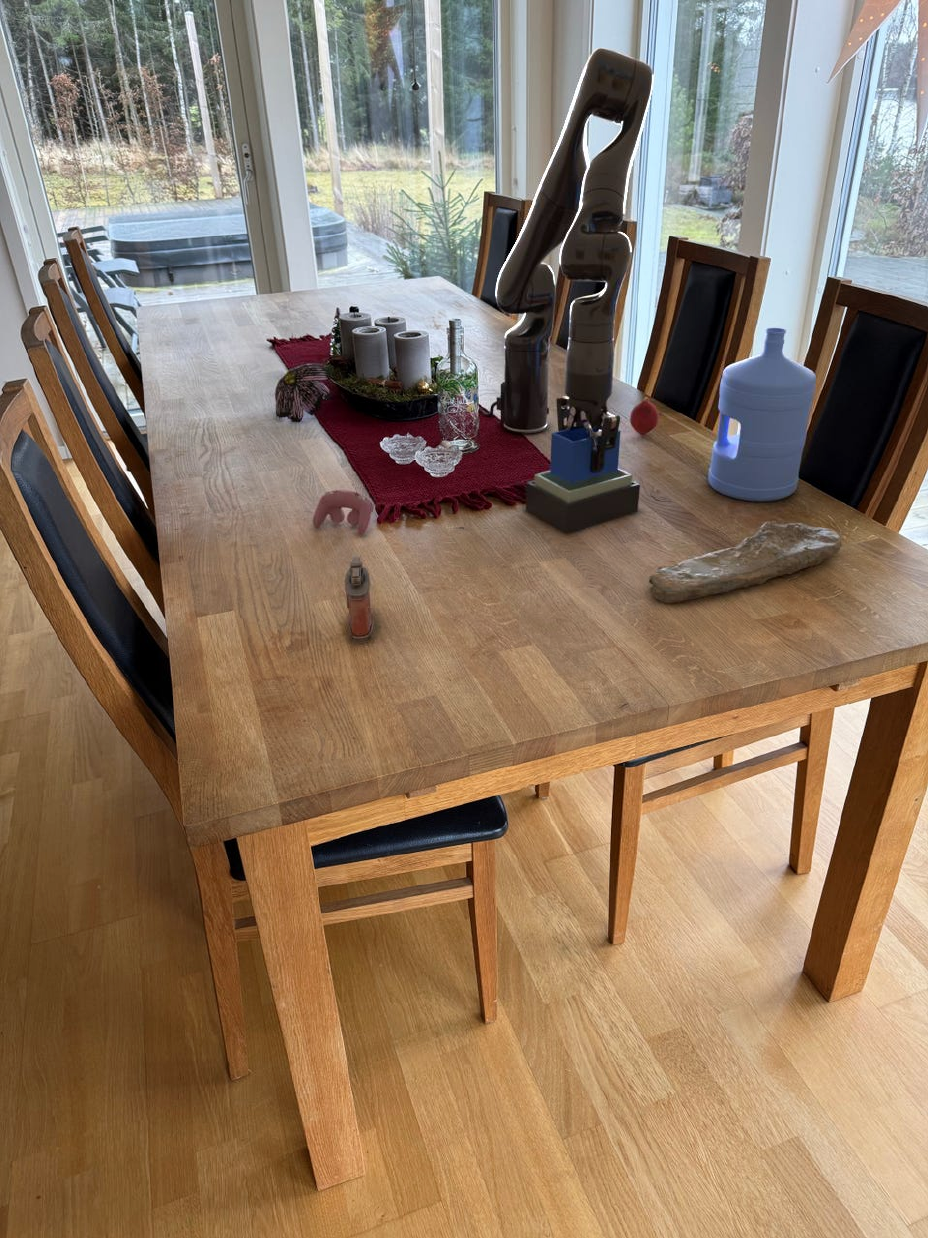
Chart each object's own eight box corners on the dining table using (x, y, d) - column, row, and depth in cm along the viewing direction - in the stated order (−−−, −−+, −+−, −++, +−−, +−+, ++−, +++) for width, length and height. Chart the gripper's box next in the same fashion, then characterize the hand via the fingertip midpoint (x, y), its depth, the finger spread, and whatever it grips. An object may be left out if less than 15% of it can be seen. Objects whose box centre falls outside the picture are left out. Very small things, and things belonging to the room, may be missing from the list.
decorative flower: (252, 368, 201) (312, 341, 203) (269, 408, 210) (327, 382, 212) (272, 403, 192) (335, 374, 194) (289, 443, 201) (349, 415, 203)
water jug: (801, 476, 167) (830, 323, 152) (789, 509, 155) (819, 345, 140) (716, 465, 173) (737, 315, 158) (699, 495, 161) (719, 336, 146)
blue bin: (571, 483, 148) (573, 442, 144) (550, 472, 152) (551, 432, 148) (617, 470, 152) (620, 430, 149) (596, 460, 156) (598, 421, 153)
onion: (656, 440, 185) (660, 402, 181) (628, 439, 186) (631, 401, 182) (656, 431, 190) (660, 393, 185) (629, 429, 191) (632, 392, 186)
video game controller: (373, 535, 153) (378, 494, 152) (362, 534, 148) (367, 492, 148) (321, 527, 156) (326, 487, 155) (309, 526, 151) (314, 485, 150)
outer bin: (566, 534, 148) (567, 505, 146) (525, 510, 157) (526, 482, 154) (637, 511, 155) (640, 484, 153) (595, 489, 164) (596, 463, 161)
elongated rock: (631, 591, 134) (672, 625, 127) (633, 561, 131) (676, 594, 124) (808, 531, 146) (855, 558, 139) (814, 502, 143) (862, 529, 136)
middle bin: (567, 527, 149) (569, 492, 146) (533, 507, 156) (534, 474, 153) (629, 508, 155) (632, 474, 152) (594, 489, 162) (596, 457, 159)
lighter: (350, 613, 128) (343, 550, 123) (373, 611, 128) (368, 549, 123) (348, 643, 121) (341, 578, 116) (373, 642, 121) (368, 577, 116)
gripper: (637, 372, 139) (629, 474, 148) (580, 352, 150) (575, 448, 159) (600, 381, 136) (594, 484, 145) (543, 360, 146) (541, 457, 155)
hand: (584, 465), depth 152 cm, fingers closed on blue bin, 5 cm apart
